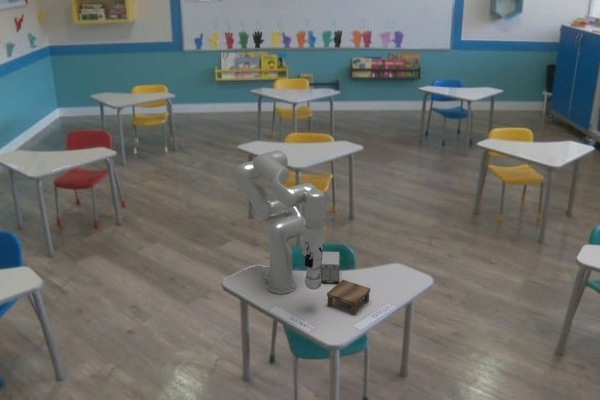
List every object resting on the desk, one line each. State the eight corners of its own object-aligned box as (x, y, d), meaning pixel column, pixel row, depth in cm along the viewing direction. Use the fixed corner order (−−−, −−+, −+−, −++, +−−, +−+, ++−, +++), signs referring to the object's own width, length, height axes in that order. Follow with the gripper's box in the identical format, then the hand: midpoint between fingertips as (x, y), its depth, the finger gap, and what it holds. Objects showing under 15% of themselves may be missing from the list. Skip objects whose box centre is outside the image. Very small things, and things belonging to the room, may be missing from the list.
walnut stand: (326, 305, 233) (326, 293, 231) (342, 291, 243) (342, 279, 241) (354, 315, 226) (355, 302, 224) (369, 300, 236) (370, 288, 234)
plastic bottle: (311, 293, 223) (312, 248, 215) (301, 285, 228) (302, 241, 220) (324, 288, 226) (326, 243, 219) (314, 281, 231) (315, 237, 224)
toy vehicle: (340, 265, 264) (341, 246, 260) (340, 285, 248) (341, 264, 245) (320, 265, 265) (320, 245, 261) (318, 284, 249) (319, 264, 245)
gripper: (318, 211, 224) (317, 251, 231) (293, 227, 211) (293, 269, 218) (334, 216, 221) (333, 256, 228) (310, 232, 207) (309, 275, 214)
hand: (313, 262), depth 223 cm, fingers closed on plastic bottle, 6 cm apart
